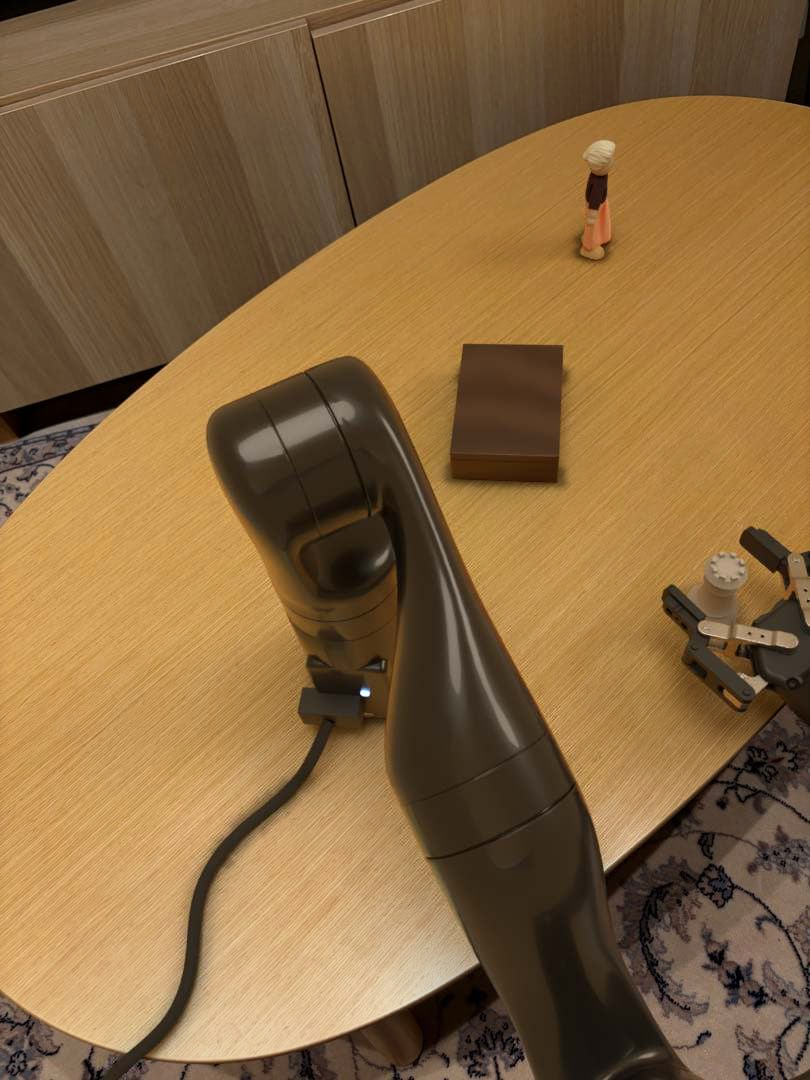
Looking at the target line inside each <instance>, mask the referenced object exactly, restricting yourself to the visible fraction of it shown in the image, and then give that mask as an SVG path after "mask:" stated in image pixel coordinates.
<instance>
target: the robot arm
mask: <svg viewBox="0 0 810 1080" xmlns="http://www.w3.org/2000/svg"><path fill="white" fill-rule="evenodd" d="M205 443H206V444H205V445H206V450H207V455H208V459H209V461H210V464H211V467H212V470H213V473H214V476H215V478H216V480H217V483H218V485H219V487H220V489H221V491H222V493H223V495H224V497H225V499H226V500H227V502H228V504H229V506H230V508H231V510H232V511H233V514H234V515H235V516H236V519H237V520H238V521H239V523H240V525H241V527H242V528H243V529H244V531H245V533H246V535H247V536H248V538H249V539H250V541H251V543H252V544H253V546H254V548H255V550H256V551H257V553H258V555H259V557H260V560H261V561H262V564H263V566H264V568H265V570H266V574H267V575H268V578H269V580H270V583H271V585H272V587H273V589H274V591H275V593H276V596H277V598H278V599H279V602H280V604H281V606H282V608H283V611H284V612H285V614H286V617H287V619H288V621H289V623H290V625H291V627H292V630H293V631H294V633H295V636H296V637H297V641H298V642H299V644H300V646H301V648H302V650H303V653H304V654H305V656H306V661H305V669H306V672H307V673H308V676H309V677H310V680H311V681H312V684H313V686H314V687H307V686H302V688H301V693H300V697H299V703H298V707H297V715H298V716H299V718H300V720H301V722H302V723H303V725H309V726H310V725H311V726H319V729H318V731H317V733H316V735H315V738H314V739H313V742H312V744H311V747H310V748H309V751H308V752H307V755H306V756H305V758H304V760H303V762H302V763H301V765H300V767H299V768H298V770H297V771H296V773H295V774H294V775H293V776H292V777H291V779H289V781H287V782H286V784H285V785H284V786H283V787H282V788H280V790H279V791H277V793H276V794H275V795H274V796H273V797H271V798H270V799H269V800H267V802H265V803H264V804H263V805H261V807H259V808H258V809H257V810H255V811H254V812H253V813H251V815H249V816H248V817H247V818H245V820H244V821H242V822H241V823H240V824H239V825H237V827H236V828H234V829H233V830H232V831H231V832H230V833H229V834H228V835H227V836H226V837H225V839H223V841H221V842H220V844H219V845H218V847H217V848H216V849H215V850H214V851H213V853H212V854H211V856H210V857H209V858H208V860H207V863H206V864H205V866H204V867H203V869H202V871H201V873H200V874H199V875H200V876H199V878H198V879H197V881H196V885H195V887H194V890H193V894H192V899H191V902H190V908H189V913H188V922H187V933H186V947H185V956H184V963H183V970H182V974H181V978H180V982H179V985H178V987H177V992H176V993H175V996H174V998H173V1000H172V1003H171V1004H170V1007H169V1008H168V1010H167V1012H166V1014H165V1015H164V1016H163V1018H162V1019H161V1020H160V1021H159V1022H158V1024H157V1025H156V1026H155V1027H154V1028H153V1029H152V1030H151V1031H150V1032H149V1033H148V1034H147V1035H146V1036H145V1037H143V1039H142V1040H140V1041H139V1042H138V1043H137V1044H136V1045H134V1046H133V1047H132V1048H131V1049H129V1050H128V1051H127V1052H126V1053H125V1054H124V1055H123V1056H121V1057H120V1058H119V1059H118V1060H117V1061H116V1062H115V1063H114V1064H113V1065H112V1066H111V1067H110V1068H109V1069H107V1071H106V1073H105V1074H104V1075H103V1076H102V1078H101V1080H120V1079H121V1078H122V1077H123V1076H124V1075H125V1074H126V1073H127V1072H128V1071H129V1070H131V1069H132V1068H133V1067H134V1066H136V1064H138V1063H139V1061H141V1060H142V1059H143V1058H144V1057H146V1056H148V1054H149V1053H151V1052H152V1050H154V1048H156V1047H157V1046H158V1045H159V1044H160V1043H161V1042H162V1041H163V1040H164V1039H165V1037H166V1036H168V1034H169V1033H170V1032H171V1031H172V1030H173V1028H174V1027H175V1025H176V1024H177V1023H178V1021H179V1019H180V1017H181V1016H182V1014H183V1012H184V1009H185V1008H186V1005H187V1003H188V1001H189V999H190V996H191V994H192V990H193V987H194V983H195V979H196V975H197V971H198V965H199V964H198V963H199V954H200V941H201V929H202V919H203V912H204V905H205V900H206V897H207V894H208V890H209V888H210V886H211V883H212V881H213V879H214V877H215V874H216V873H217V871H218V869H219V868H220V866H221V864H222V863H223V862H224V860H225V859H226V858H227V856H228V855H229V854H230V852H231V851H232V850H233V849H234V848H235V847H236V846H237V845H238V844H239V843H240V842H241V841H242V840H243V839H244V838H246V836H247V835H249V834H250V833H251V832H252V831H253V830H254V829H256V828H257V827H258V826H259V825H260V824H261V823H263V822H264V821H265V820H266V819H267V818H269V817H270V816H271V815H272V814H274V813H275V812H276V811H277V810H279V809H280V808H281V807H282V806H283V805H284V804H285V803H286V802H288V800H289V799H291V798H292V796H293V795H294V794H295V793H296V792H297V791H298V790H299V789H300V788H301V786H302V785H304V783H306V781H307V780H308V779H309V777H310V775H311V774H312V773H313V771H314V769H315V767H316V765H317V764H318V762H319V760H320V758H321V756H322V754H323V752H324V750H325V748H326V745H327V744H328V741H329V738H330V736H331V735H332V732H333V730H334V728H344V729H345V728H346V729H357V730H362V729H363V723H364V718H375V719H376V718H377V719H385V724H384V736H383V737H384V738H383V739H384V740H383V746H384V747H383V751H384V753H383V755H384V766H385V773H386V777H387V780H388V784H389V787H390V789H391V790H392V793H393V795H394V798H395V799H396V801H397V803H398V806H399V807H400V809H401V812H402V814H403V816H404V818H405V820H406V822H407V824H408V826H409V828H410V831H411V833H412V835H413V838H414V839H415V841H416V843H417V845H418V847H419V850H420V852H421V855H422V856H423V858H424V860H425V862H426V864H427V867H428V868H429V871H430V873H431V874H432V877H433V878H434V880H435V882H436V884H437V885H438V887H439V889H440V892H441V893H442V895H443V898H444V899H445V901H446V903H447V905H448V906H449V908H450V910H451V912H452V914H453V916H454V918H455V920H456V922H457V924H458V926H459V928H460V930H461V931H462V933H463V935H464V937H465V939H466V941H467V943H468V945H469V947H470V949H471V951H472V952H473V954H474V956H475V957H476V959H477V961H478V963H479V964H480V966H481V968H482V971H483V972H484V973H485V975H486V977H487V979H488V981H489V983H491V986H492V987H493V990H495V992H496V994H497V996H498V998H499V1000H500V1001H501V1003H502V1005H503V1007H504V1009H505V1011H506V1013H507V1015H508V1017H509V1019H510V1021H511V1023H512V1025H513V1028H514V1030H515V1032H516V1035H517V1038H518V1040H519V1042H520V1044H521V1047H522V1050H523V1052H524V1054H525V1057H526V1060H527V1062H528V1065H529V1068H530V1071H531V1074H532V1076H533V1080H705V1078H703V1077H701V1076H700V1075H697V1074H695V1072H693V1071H692V1069H690V1068H689V1067H688V1066H687V1065H686V1064H685V1063H684V1061H683V1060H682V1059H681V1058H680V1056H679V1055H678V1054H677V1052H676V1051H675V1049H674V1047H673V1046H672V1044H671V1043H670V1042H669V1040H668V1038H667V1037H666V1036H665V1033H664V1032H663V1031H662V1029H661V1027H660V1025H659V1024H658V1021H657V1020H656V1019H655V1017H654V1015H653V1013H652V1012H651V1010H650V1008H649V1006H648V1004H647V1002H646V1001H645V999H644V996H643V995H642V993H641V991H640V990H639V988H638V986H637V984H636V983H635V980H634V979H633V977H632V975H631V973H630V970H629V969H628V966H627V965H626V962H625V960H624V957H623V955H622V952H621V949H620V947H619V944H618V941H617V938H616V934H615V930H614V927H613V922H612V916H611V911H610V905H609V900H608V891H607V890H608V889H607V883H606V876H605V875H606V874H605V869H604V863H603V857H602V852H601V846H600V842H599V836H598V833H597V829H596V825H595V822H594V820H593V819H594V818H593V816H592V813H591V810H590V807H589V805H588V803H587V800H586V798H585V795H584V793H583V791H582V789H581V787H580V784H579V782H578V781H577V780H576V777H575V775H574V772H573V771H572V768H571V767H570V764H569V763H568V760H567V758H566V757H565V755H564V752H563V751H562V749H561V747H560V745H559V742H558V740H557V739H556V737H555V734H554V732H553V731H552V729H551V728H550V725H549V723H548V721H547V719H546V717H545V715H544V714H543V712H542V710H541V708H540V707H539V704H538V703H537V701H536V699H535V697H534V696H533V693H532V692H531V690H530V688H529V686H528V685H527V683H526V681H525V679H524V677H523V675H522V674H521V673H522V672H521V671H520V669H519V668H518V666H517V664H516V662H515V660H514V659H513V656H512V655H511V653H510V650H509V649H508V647H507V645H506V643H505V642H504V640H503V637H502V636H501V634H500V632H499V631H498V628H497V627H496V624H495V623H494V621H493V618H491V615H490V614H489V611H488V610H487V608H486V606H485V603H484V601H483V599H482V598H481V596H480V594H479V591H478V590H477V587H476V585H475V583H474V581H473V578H472V577H471V574H470V572H469V570H468V567H467V566H466V563H465V561H464V559H463V556H462V553H461V551H460V550H459V547H458V545H457V543H456V541H455V538H454V536H453V534H452V531H451V529H450V527H449V525H448V522H447V519H446V517H445V515H444V513H443V510H442V508H441V505H440V503H439V501H438V498H437V497H436V494H435V491H434V489H433V487H432V484H431V482H430V480H429V478H428V474H427V473H426V470H425V468H424V466H423V464H422V461H421V459H420V457H419V454H418V452H417V450H416V447H415V445H414V443H413V440H412V438H411V436H410V434H409V431H408V429H407V427H406V424H405V423H404V421H403V419H402V416H401V414H400V411H399V410H398V408H397V406H396V404H395V402H394V400H393V399H392V397H391V395H390V392H389V391H388V390H387V388H386V387H385V385H384V383H383V382H382V380H381V379H380V378H379V376H378V375H377V374H376V372H375V371H374V370H373V369H372V368H371V366H369V364H367V363H366V362H365V361H364V360H362V359H360V358H358V357H357V356H354V355H343V356H339V357H336V358H332V359H329V360H326V361H324V362H322V363H319V364H317V365H313V366H311V367H309V368H306V369H305V370H303V371H299V372H298V373H295V374H293V375H290V376H288V377H286V378H282V379H281V380H278V381H276V382H274V383H271V384H269V385H267V386H265V387H262V388H259V389H258V390H255V391H253V392H251V393H249V394H246V395H244V396H242V397H239V398H236V399H234V400H231V401H229V402H227V403H226V404H225V403H224V404H223V405H221V406H219V407H218V408H216V409H215V410H214V411H212V413H211V414H210V416H209V418H208V420H207V423H206V427H205ZM738 542H739V545H740V546H741V547H742V548H743V549H744V550H745V551H746V552H747V553H748V554H750V555H751V556H752V557H753V558H754V559H755V560H757V561H758V562H759V563H760V564H761V565H762V566H764V568H766V569H767V570H768V571H769V572H770V573H772V574H775V573H776V572H778V573H779V579H780V582H781V587H782V593H783V596H782V598H781V599H780V600H778V601H777V602H776V603H775V604H774V606H773V607H772V609H771V610H770V611H768V612H766V613H763V614H761V615H759V616H758V617H757V618H755V619H754V620H753V621H752V623H751V625H745V624H742V623H735V624H732V625H727V624H722V623H717V622H713V621H708V620H705V618H706V616H707V615H705V614H704V613H703V612H702V611H701V610H700V609H699V608H698V607H697V606H696V605H695V604H694V603H693V602H692V601H691V600H690V599H689V598H688V597H686V596H687V595H685V593H683V591H681V590H680V588H678V587H677V586H676V585H675V584H672V583H671V584H669V585H668V586H667V587H665V588H664V589H663V590H662V594H661V598H660V599H661V602H662V604H661V608H662V610H663V612H664V614H665V615H666V616H668V617H669V618H670V619H671V621H673V622H674V624H675V625H677V626H678V627H679V628H680V629H681V630H682V631H683V632H684V633H685V634H686V635H687V637H688V639H689V640H688V641H687V642H686V645H685V647H684V649H683V652H682V655H681V658H680V661H681V664H682V665H683V666H684V667H685V668H686V669H687V670H688V671H690V673H692V674H693V675H694V676H695V677H696V678H697V679H698V680H700V681H701V682H702V683H703V684H704V685H705V686H706V687H707V688H709V690H711V692H713V693H714V694H715V695H716V696H717V697H718V698H719V699H720V700H722V701H723V702H724V703H725V704H726V705H727V706H728V707H730V709H732V710H733V711H734V712H736V713H739V714H743V713H745V712H747V711H748V709H749V708H750V706H751V704H752V703H753V701H754V700H755V699H756V698H757V697H758V696H759V695H760V694H761V693H762V692H763V691H764V690H768V691H770V692H773V693H774V694H776V695H778V696H779V698H780V699H782V701H783V702H784V703H785V705H786V706H787V707H788V708H789V710H790V711H792V712H793V713H794V714H795V715H796V716H797V717H798V718H799V719H800V720H801V721H802V722H803V723H804V724H805V725H807V727H808V728H810V550H807V551H804V552H799V553H798V552H792V551H791V550H789V549H788V548H787V547H786V546H784V544H782V543H781V542H780V541H778V540H777V539H776V538H775V537H773V536H772V535H771V534H770V533H769V532H768V531H766V530H764V529H762V528H760V527H759V528H756V527H754V525H753V526H752V525H750V526H748V527H746V528H745V529H744V530H743V531H742V532H741V535H740V537H739V539H738ZM713 652H714V653H713ZM715 653H719V654H721V655H722V656H723V657H725V658H728V659H732V660H736V661H739V662H745V663H750V666H751V671H752V675H753V676H750V675H747V674H746V673H745V672H741V671H739V672H738V671H737V672H736V671H734V670H733V669H732V668H731V667H730V666H729V665H727V664H726V663H725V662H724V661H723V660H722V659H721V658H720V657H718V656H717V655H716V654H715ZM788 1080H810V1068H809V1069H807V1070H805V1071H804V1072H802V1073H800V1074H798V1075H796V1076H794V1077H791V1078H790V1079H788Z"/></svg>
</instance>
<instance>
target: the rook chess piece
mask: <svg viewBox="0 0 810 1080" xmlns="http://www.w3.org/2000/svg"><path fill="white" fill-rule="evenodd" d="M703 572H704V575H703V582H701V583H698V584H696V585H695V586H694V587H692V588H691V589H690V590H689V591H688V592H687V595H685V596H686V597H688V598H689V599H690V600H691V601H692V602H693V603H694V604H695V605H696V606H697V607H698V608H699V609H700V610H701V611H702V612H703V613H704V614H705V615H707V616H706V618H705V620H708V621H713V622H717V623H722V624H727V625H732V624H736V622H737V621H738V620H737V619H738V616H739V613H740V607H739V605H740V604H739V600H738V598H737V597H736V593H737V592H739V589H740V587H742V586H743V585H744V584H746V582H747V579H748V577H749V571H748V567H747V566H746V562H745V560H744V558H739V556H738V553H736V552H734V551H730V553H726V551H725V550H723V551H719V552H717V553H716V554H713V555H711V556H710V557H709V558H708V559H706V562H705V563H704V565H703Z"/></svg>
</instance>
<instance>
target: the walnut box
mask: <svg viewBox="0 0 810 1080" xmlns="http://www.w3.org/2000/svg"><path fill="white" fill-rule="evenodd" d="M461 350H462V351H461V357H460V364H459V365H460V366H459V373H458V382H457V390H456V392H457V393H456V399H455V407H454V414H453V417H454V418H453V423H452V430H451V431H452V432H451V440H450V447H449V449H450V450H449V459H450V470H451V478H452V479H455V480H456V479H460V480H485V481H507V482H508V481H512V482H535V483H536V482H537V483H539V482H540V483H558V480H559V467H560V466H559V465H560V453H561V452H560V450H561V425H562V424H561V423H562V422H561V421H562V399H563V397H562V395H563V372H564V371H563V368H564V344H518V343H513V344H512V343H504V344H503V343H463V344H462V348H461Z"/></svg>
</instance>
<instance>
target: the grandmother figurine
mask: <svg viewBox="0 0 810 1080" xmlns="http://www.w3.org/2000/svg"><path fill="white" fill-rule="evenodd" d="M615 152H616V144H615V142H613V141H612V140H607V139H601V140H597V141H594V142H593V143H592V144H591V145H590V146H588V147H587V148H586V149H585V151H584V152H583V154H582V157H581V158H582V161H584V162H586V164H587V167H588V168H589V170H590V173H589V176H588V179H587V182H586V188H585V192H584V193H585V194H584V196H585V197H584V198H585V206H584V207H585V228H584V233H583V234H582V235H581V236H580V242H581V243H582V247H581V248H580V250H579V255H580V256H582V257H585V258H588V259H591V260H601V259H602V258H604V256H605V249H604V248H603V247H602V246H601V245H603V244H606V243H608V242H609V241H610V240H611V238H612V218H611V211H610V204H609V198H608V181H609V173H610V172H611V171H612V169H613V168H614V165H615V158H614V154H615Z"/></svg>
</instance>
